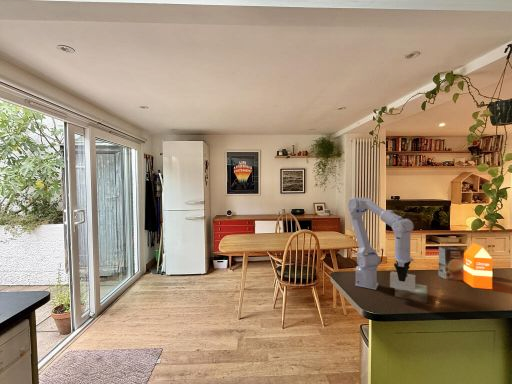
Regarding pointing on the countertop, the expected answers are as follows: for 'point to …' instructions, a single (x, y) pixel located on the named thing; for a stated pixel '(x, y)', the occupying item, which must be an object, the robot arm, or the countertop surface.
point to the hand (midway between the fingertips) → (402, 279)
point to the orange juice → (478, 267)
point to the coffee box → (451, 263)
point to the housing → (406, 285)
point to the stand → (413, 293)
